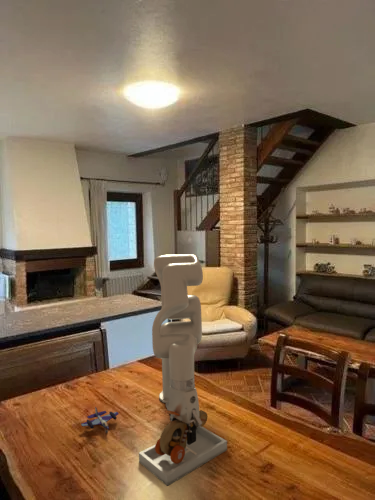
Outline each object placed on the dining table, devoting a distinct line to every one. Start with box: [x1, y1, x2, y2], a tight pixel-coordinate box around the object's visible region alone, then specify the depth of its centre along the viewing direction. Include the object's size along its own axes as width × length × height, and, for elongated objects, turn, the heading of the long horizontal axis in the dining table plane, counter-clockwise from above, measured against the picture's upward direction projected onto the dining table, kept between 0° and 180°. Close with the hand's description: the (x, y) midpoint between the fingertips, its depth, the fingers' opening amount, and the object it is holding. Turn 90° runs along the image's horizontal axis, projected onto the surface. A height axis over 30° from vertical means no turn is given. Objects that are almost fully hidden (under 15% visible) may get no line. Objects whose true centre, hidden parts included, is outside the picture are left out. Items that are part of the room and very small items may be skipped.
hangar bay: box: [138, 426, 228, 487], centre depth 117 cm, size 24×14×3 cm, turn 131°
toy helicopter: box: [154, 409, 208, 464], centre depth 118 cm, size 8×21×14 cm, turn 139°
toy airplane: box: [80, 406, 119, 434], centre depth 134 cm, size 13×14×4 cm
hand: (183, 436), depth 117 cm, fingers closed on toy helicopter, 7 cm apart
